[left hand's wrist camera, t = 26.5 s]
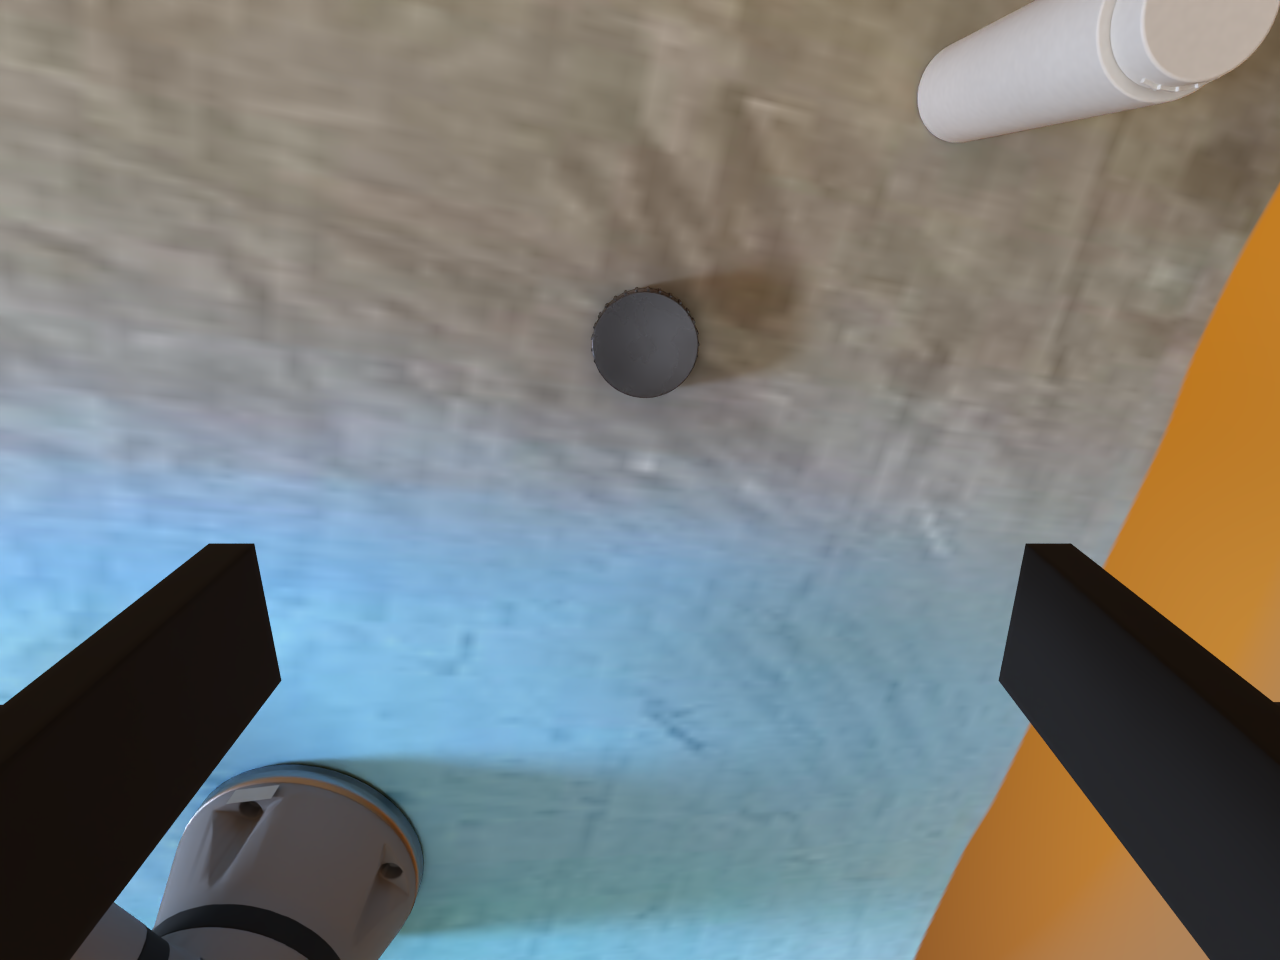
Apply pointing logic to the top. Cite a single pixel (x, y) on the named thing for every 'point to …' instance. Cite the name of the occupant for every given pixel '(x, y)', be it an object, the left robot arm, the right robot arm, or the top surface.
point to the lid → (645, 343)
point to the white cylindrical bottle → (1084, 62)
